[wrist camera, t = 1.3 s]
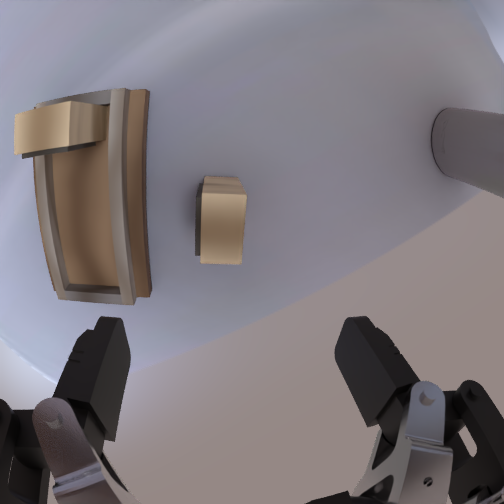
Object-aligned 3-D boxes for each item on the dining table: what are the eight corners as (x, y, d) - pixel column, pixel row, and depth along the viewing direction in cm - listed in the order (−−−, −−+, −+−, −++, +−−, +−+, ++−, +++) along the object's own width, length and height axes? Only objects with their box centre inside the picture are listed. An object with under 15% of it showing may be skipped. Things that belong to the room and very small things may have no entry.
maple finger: (233, 230, 27) (241, 264, 20) (198, 229, 26) (195, 263, 20) (237, 177, 24) (247, 194, 18) (200, 176, 24) (196, 193, 18)
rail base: (149, 91, 20) (119, 74, 12) (151, 289, 28) (136, 344, 20) (42, 107, 18) (-11, 107, 10) (59, 284, 26) (27, 329, 18)
